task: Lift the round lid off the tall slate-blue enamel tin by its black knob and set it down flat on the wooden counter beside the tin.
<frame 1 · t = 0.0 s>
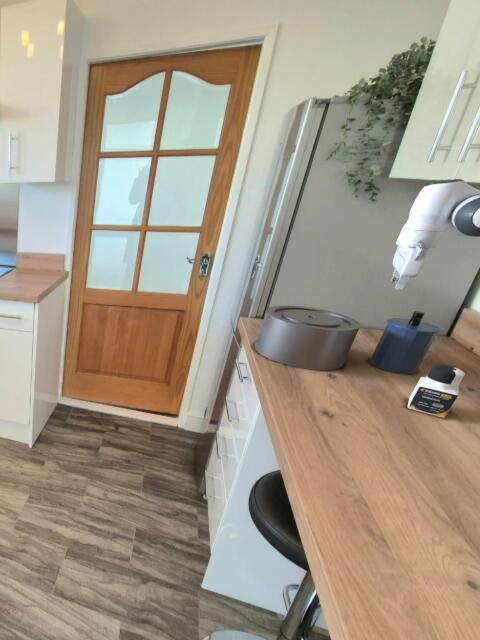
hand: (396, 285, 133), 24 cm above the table, tool pointing down, fingers open, 8 cm apart
medicine bottle: (425, 409, 114), on the table
tin: (392, 366, 138), on the table
container: (296, 354, 146), on the table
tin lid: (412, 326, 132), point 13 cm above the table, touching tin
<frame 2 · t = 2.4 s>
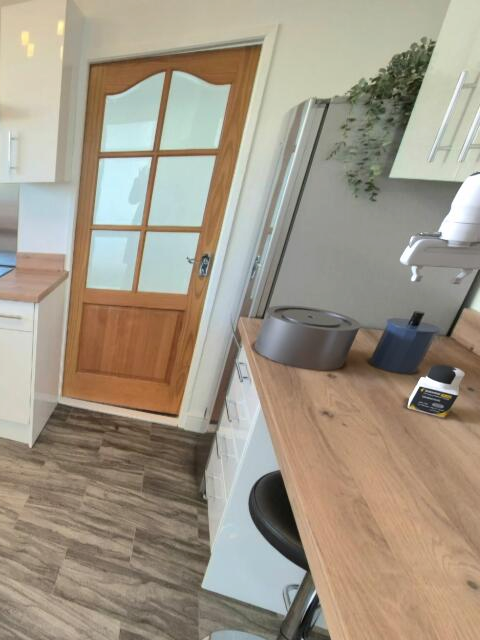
hand: (434, 282, 125), 27 cm above the table, tool pointing down, fingers open, 8 cm apart
nothing on the table moved.
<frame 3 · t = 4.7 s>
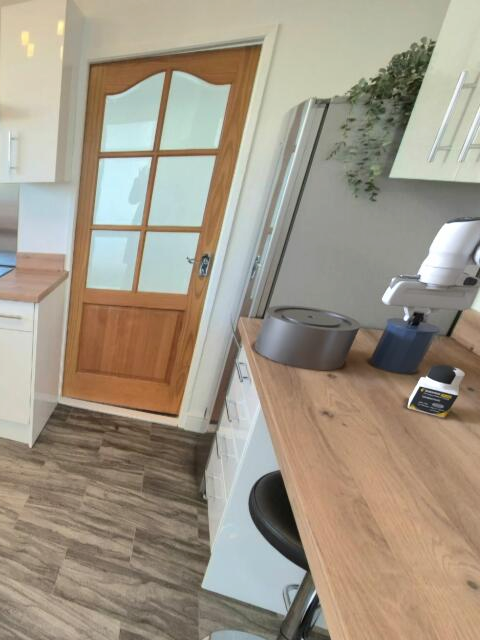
hand: (415, 321, 131), 15 cm above the table, tool pointing down, fingers closed on tin lid, 2 cm apart
tin lid: (412, 326, 132), point 14 cm above the table, touching gripper, tin
everything else where it was.
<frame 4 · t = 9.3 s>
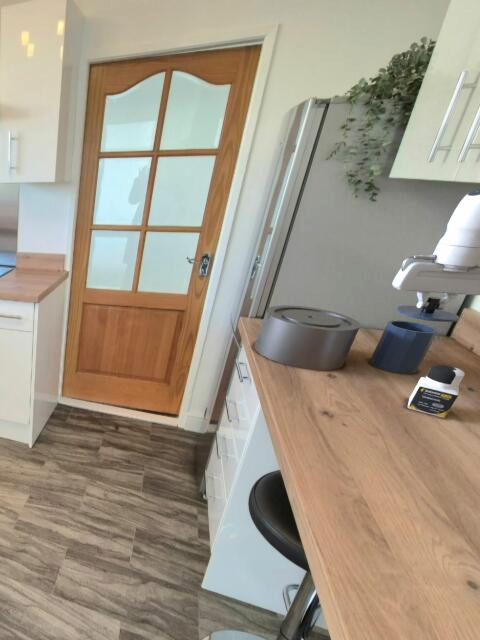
hand: (429, 308, 116), 23 cm above the table, tool pointing down, fingers closed on tin lid, 2 cm apart
tin lid: (426, 314, 117), point 22 cm above the table, touching gripper
everything else where it was.
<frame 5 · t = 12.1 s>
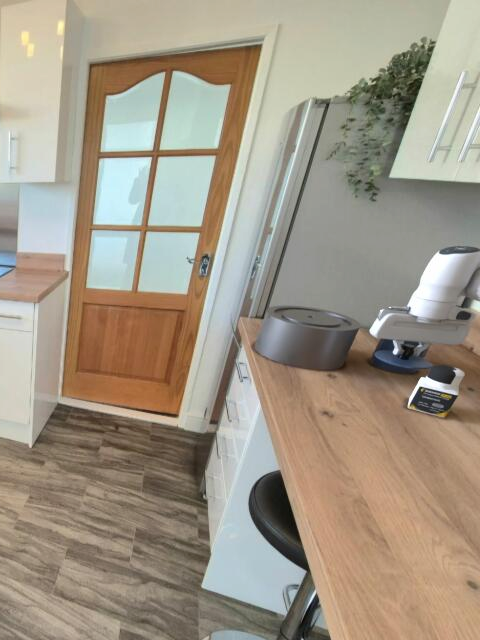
hand: (404, 355, 122), 9 cm above the table, tool pointing down, fingers closed on tin lid, 2 cm apart
tin lid: (401, 360, 123), point 8 cm above the table, touching gripper
everything else where it was.
when the fingers open (2 cm above the table, at t = 13.9 s): tin lid stays where it is, point 1 cm above the table.
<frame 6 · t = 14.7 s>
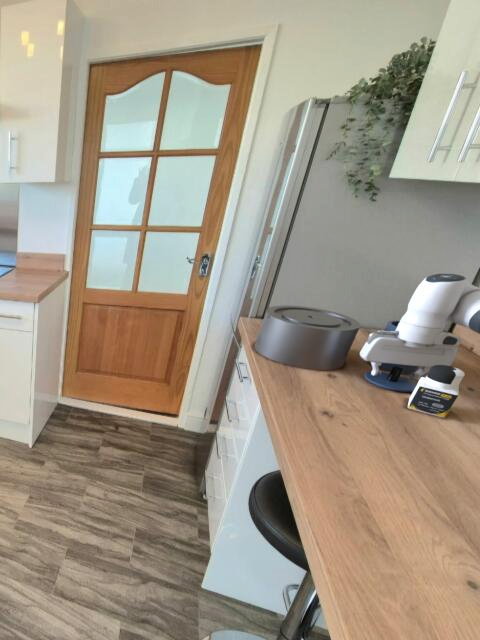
hand: (394, 377, 126), 2 cm above the table, tool pointing down, fingers open, 8 cm apart
tin lid: (390, 382, 126), point 1 cm above the table
everything else where it was.
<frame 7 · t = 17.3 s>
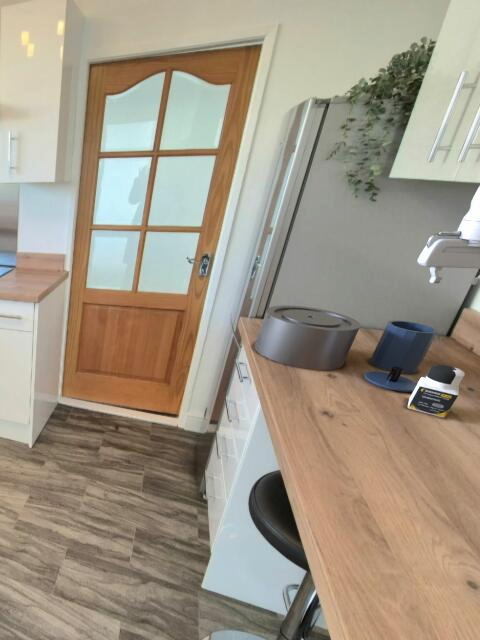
hand: (454, 283, 120), 28 cm above the table, tool pointing down, fingers open, 8 cm apart
nothing on the table moved.
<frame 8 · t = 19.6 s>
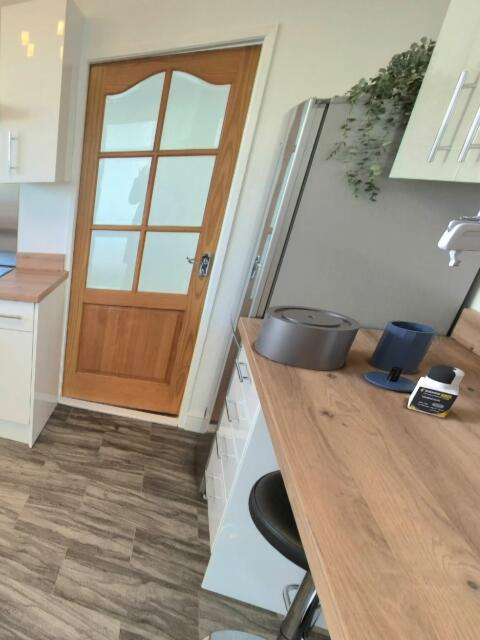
hand: (472, 267, 126), 31 cm above the table, tool pointing down, fingers open, 8 cm apart
nothing on the table moved.
at the end: tin lid inside the target area (0.1 cm from its centre), point 0.6 cm above the table; tin lid tilted 0°; the gripper is holding nothing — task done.
